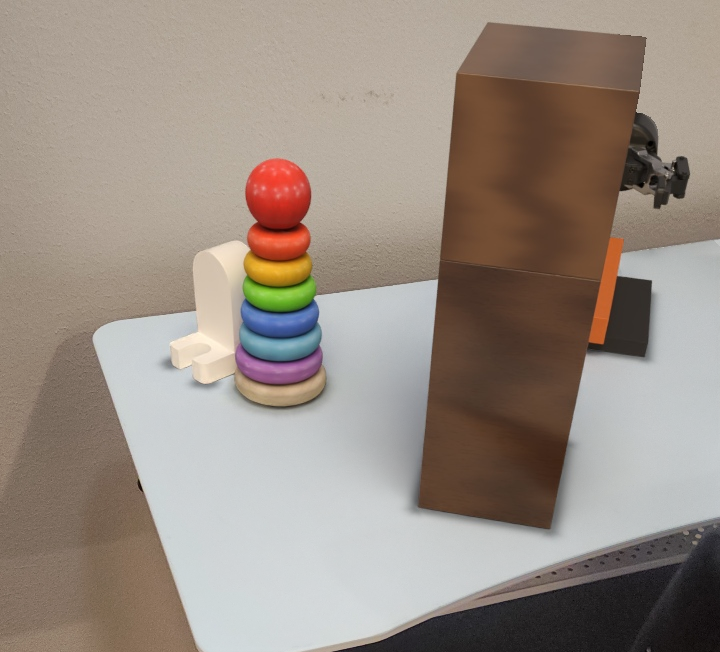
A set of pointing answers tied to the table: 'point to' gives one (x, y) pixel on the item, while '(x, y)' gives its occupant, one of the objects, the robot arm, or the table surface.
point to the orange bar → (606, 291)
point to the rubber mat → (628, 318)
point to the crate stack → (522, 261)
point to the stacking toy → (279, 292)
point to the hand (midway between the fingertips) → (617, 194)
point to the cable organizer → (214, 313)
